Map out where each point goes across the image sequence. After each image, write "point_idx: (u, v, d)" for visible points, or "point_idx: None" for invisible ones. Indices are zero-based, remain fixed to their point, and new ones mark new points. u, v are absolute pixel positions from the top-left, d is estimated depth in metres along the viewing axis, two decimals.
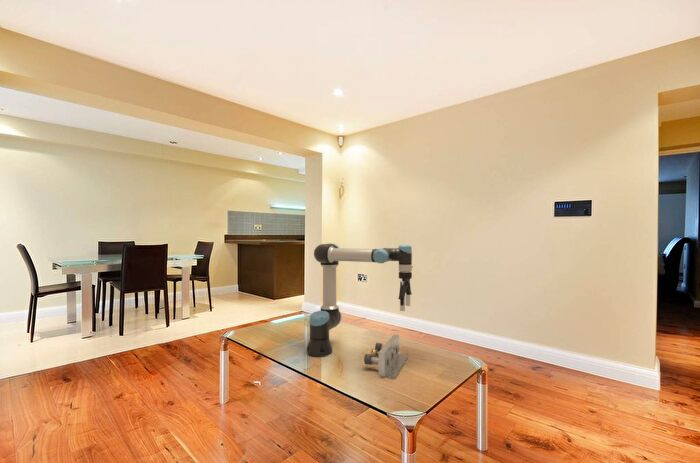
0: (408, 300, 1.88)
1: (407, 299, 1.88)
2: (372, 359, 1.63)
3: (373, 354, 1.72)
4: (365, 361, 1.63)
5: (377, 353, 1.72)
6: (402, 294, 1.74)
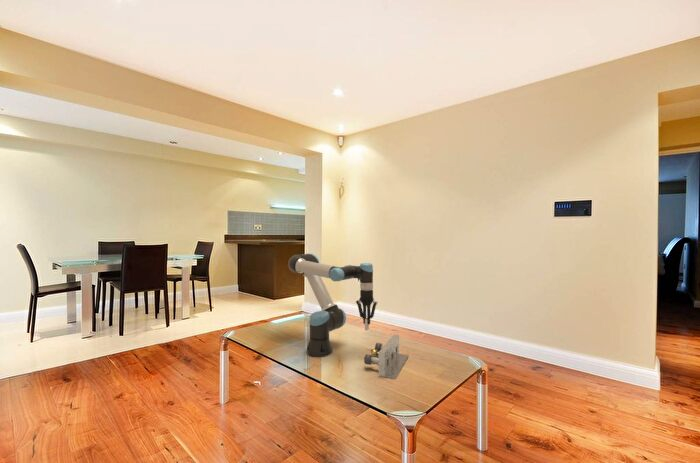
0: None
1: None
2: (372, 359, 1.63)
3: (373, 354, 1.72)
4: (365, 361, 1.63)
5: (377, 353, 1.72)
6: None
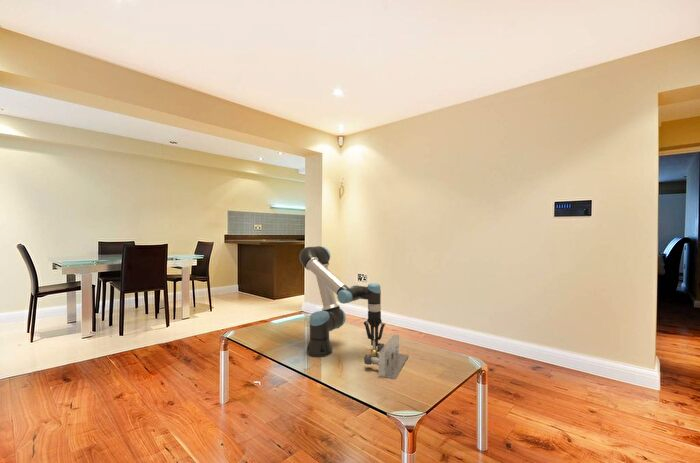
0: None
1: None
2: (372, 359, 1.63)
3: (373, 354, 1.72)
4: (365, 361, 1.63)
5: (377, 353, 1.72)
6: None
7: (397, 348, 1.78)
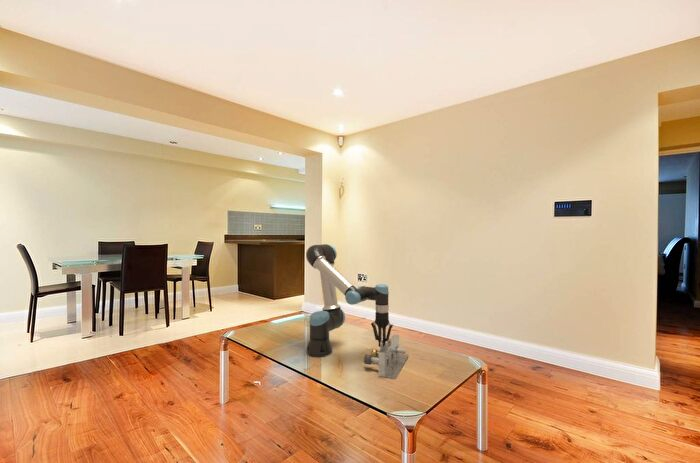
0: None
1: None
2: (372, 359, 1.63)
3: (373, 354, 1.72)
4: (365, 361, 1.63)
5: (377, 353, 1.72)
6: None
7: (405, 349, 1.77)
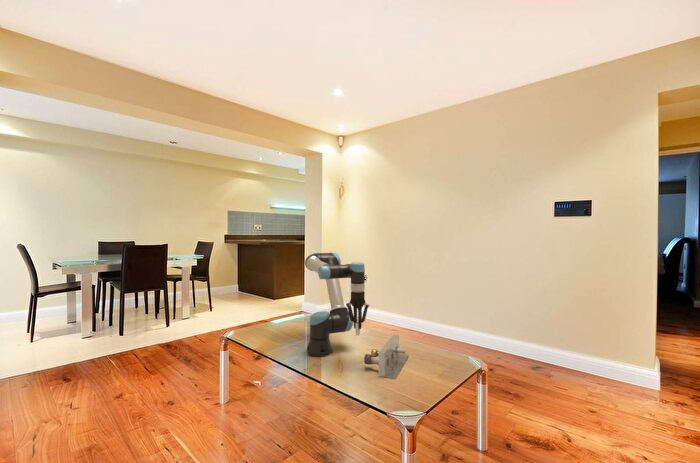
0: None
1: None
2: (372, 359, 1.63)
3: (373, 354, 1.72)
4: (365, 361, 1.63)
5: (377, 353, 1.72)
6: None
7: (405, 349, 1.77)
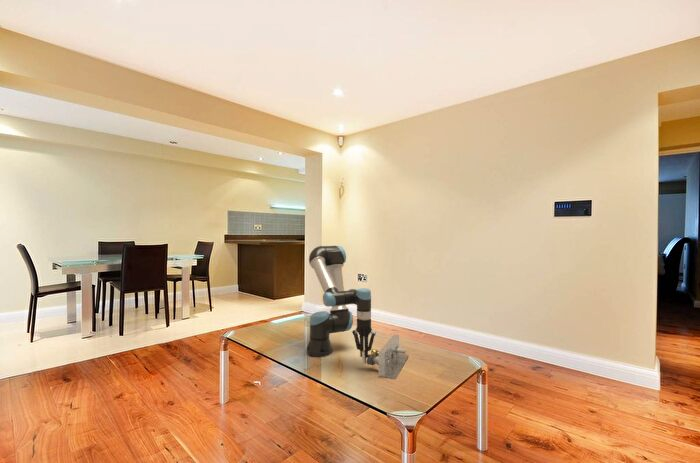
0: None
1: None
2: (375, 359, 1.63)
3: (373, 354, 1.72)
4: (368, 361, 1.63)
5: (377, 353, 1.72)
6: None
7: (405, 349, 1.77)
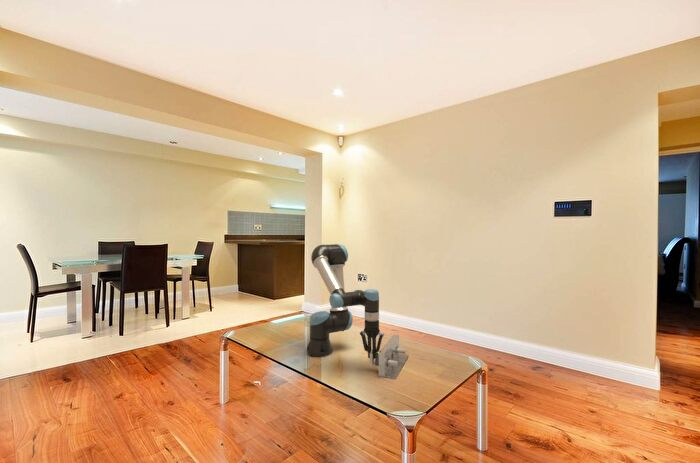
0: None
1: None
2: None
3: None
4: (376, 363, 1.61)
5: (377, 353, 1.72)
6: None
7: (405, 349, 1.77)
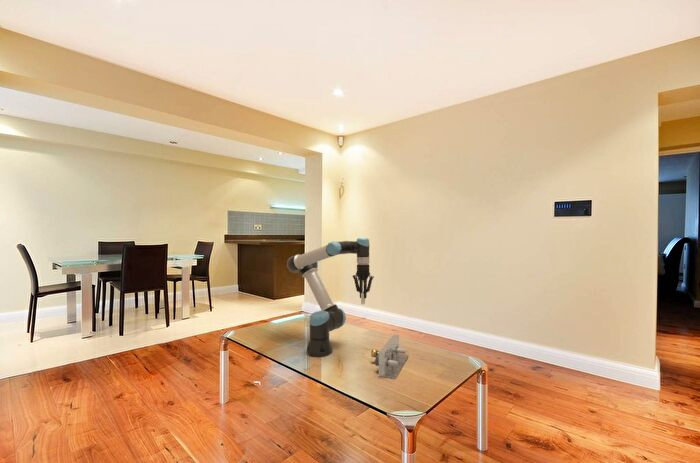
0: None
1: None
2: None
3: (373, 354, 1.72)
4: (376, 363, 1.61)
5: (377, 353, 1.72)
6: None
7: (405, 349, 1.77)
